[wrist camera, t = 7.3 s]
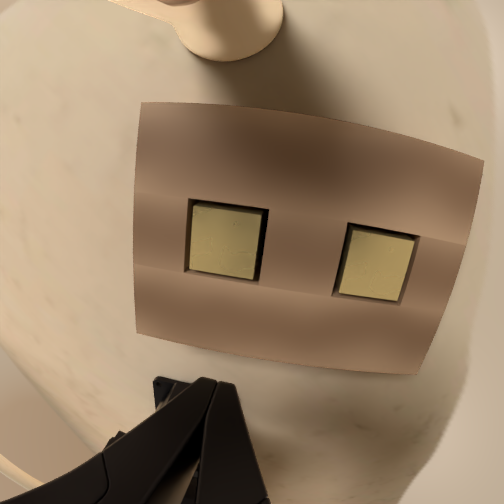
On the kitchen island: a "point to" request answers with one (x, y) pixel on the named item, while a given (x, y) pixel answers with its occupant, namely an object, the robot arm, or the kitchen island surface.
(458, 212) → the walnut block
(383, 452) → the kitchen island surface
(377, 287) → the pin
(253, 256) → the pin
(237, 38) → the beer glass
